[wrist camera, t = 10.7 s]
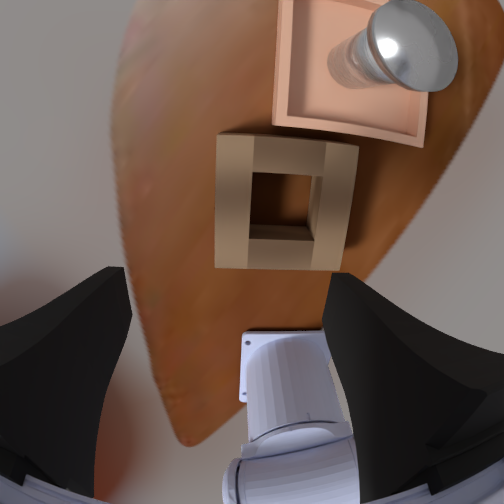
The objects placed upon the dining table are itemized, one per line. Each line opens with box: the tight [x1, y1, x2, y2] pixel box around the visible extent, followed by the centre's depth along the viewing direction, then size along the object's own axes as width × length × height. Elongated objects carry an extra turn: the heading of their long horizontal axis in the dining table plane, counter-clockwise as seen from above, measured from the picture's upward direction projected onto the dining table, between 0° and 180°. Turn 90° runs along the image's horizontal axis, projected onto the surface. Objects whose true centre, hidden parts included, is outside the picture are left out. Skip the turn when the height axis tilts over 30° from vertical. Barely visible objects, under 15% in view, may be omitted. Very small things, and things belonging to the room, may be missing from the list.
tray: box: [272, 0, 428, 148], centre depth 15 cm, size 10×10×2 cm
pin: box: [327, 0, 458, 92], centre depth 12 cm, size 4×4×8 cm
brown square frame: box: [215, 133, 359, 271], centre depth 18 cm, size 8×8×2 cm
